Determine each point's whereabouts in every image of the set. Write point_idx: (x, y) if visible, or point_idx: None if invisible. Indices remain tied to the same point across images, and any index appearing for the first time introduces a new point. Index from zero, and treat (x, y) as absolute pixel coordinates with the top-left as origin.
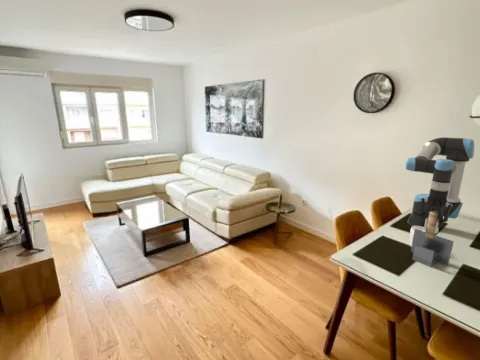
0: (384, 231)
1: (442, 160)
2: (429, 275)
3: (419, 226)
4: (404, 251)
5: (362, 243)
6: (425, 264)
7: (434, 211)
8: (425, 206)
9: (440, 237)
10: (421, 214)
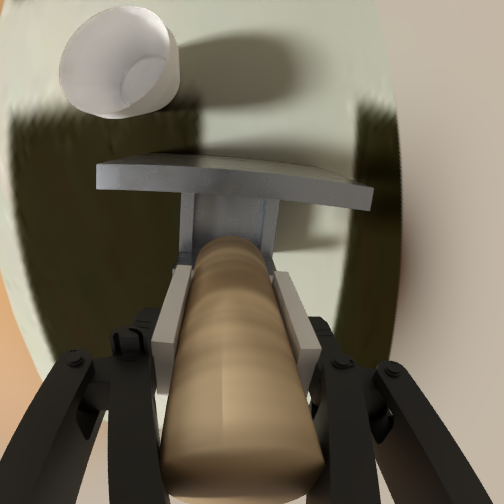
0: (5, 67)
1: None
2: None
3: (99, 14)
4: (129, 193)
5: (13, 272)
6: None
7: (228, 471)
8: (46, 494)
9: (290, 185)
10: (90, 415)
